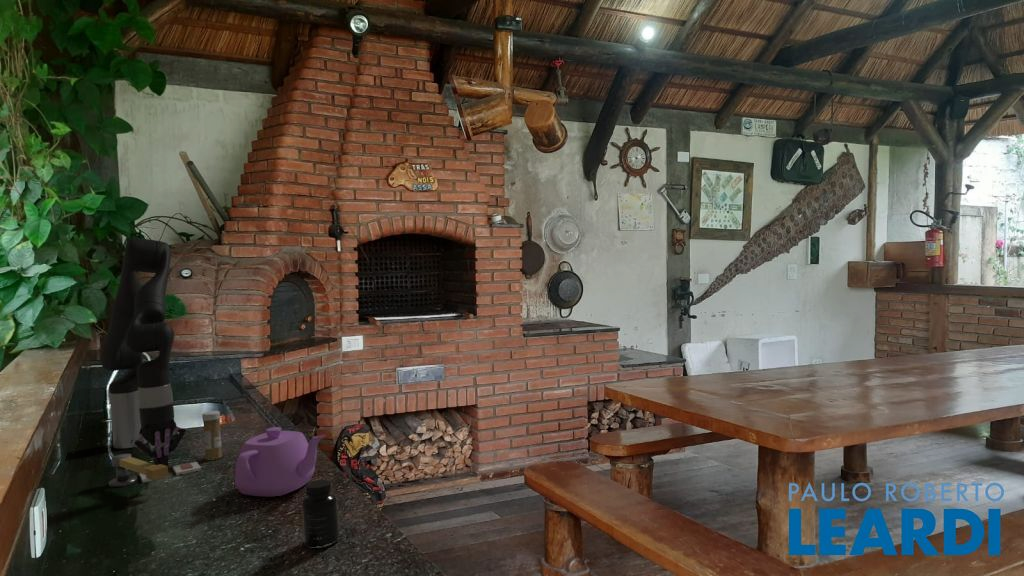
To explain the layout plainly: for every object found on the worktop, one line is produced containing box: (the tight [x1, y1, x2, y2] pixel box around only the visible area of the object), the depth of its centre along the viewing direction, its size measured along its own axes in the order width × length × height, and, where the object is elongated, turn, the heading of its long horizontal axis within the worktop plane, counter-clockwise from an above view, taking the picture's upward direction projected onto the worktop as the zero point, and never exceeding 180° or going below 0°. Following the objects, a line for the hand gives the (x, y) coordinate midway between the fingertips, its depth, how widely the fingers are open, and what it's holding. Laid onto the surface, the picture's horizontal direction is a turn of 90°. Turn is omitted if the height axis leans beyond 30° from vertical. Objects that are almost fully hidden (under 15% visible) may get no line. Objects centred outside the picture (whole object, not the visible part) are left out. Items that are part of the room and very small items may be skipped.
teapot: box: [234, 426, 326, 498], centre depth 157 cm, size 23×21×15 cm
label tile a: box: [138, 473, 169, 484], centre depth 173 cm, size 7×6×1 cm
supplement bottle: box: [301, 479, 340, 547], centre depth 129 cm, size 7×7×12 cm
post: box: [108, 467, 138, 488], centre depth 169 cm, size 6×6×5 cm
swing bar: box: [111, 453, 170, 482], centre depth 163 cm, size 4×22×2 cm, turn 55°
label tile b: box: [172, 460, 202, 476], centre depth 177 cm, size 7×6×1 cm
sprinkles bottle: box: [201, 410, 223, 461], centre depth 187 cm, size 5×5×14 cm
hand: (161, 470), depth 163 cm, fingers closed
